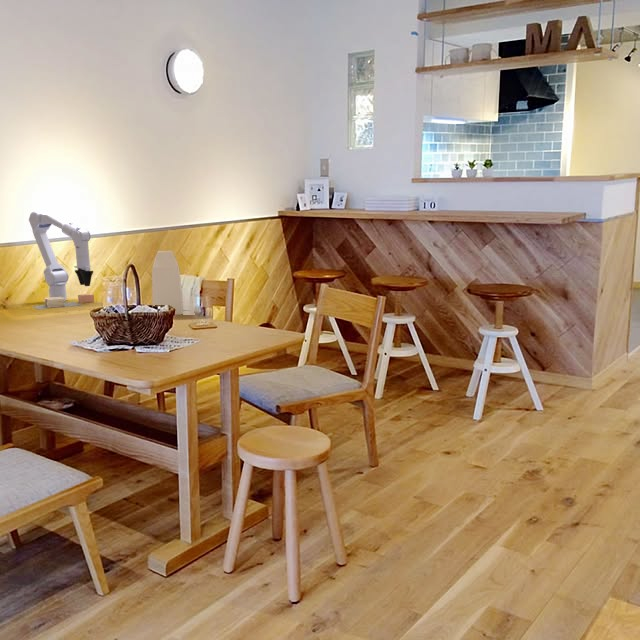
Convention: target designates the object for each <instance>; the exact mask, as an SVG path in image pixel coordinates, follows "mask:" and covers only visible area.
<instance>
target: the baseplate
mask: <svg viewBox="0 0 640 640" xmlns="http://www.w3.org/2000/svg"><path fill="white" fill-rule="evenodd" d="M80 306H82V303H79V302H76V301H72V302H65V306H61V307H51V308H48V307H46V306H45V304H41V305H32V306H31V307H32V308H34V309H36V310H38V311H39V310H47V309H58V308H67V307H80Z"/></svg>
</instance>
